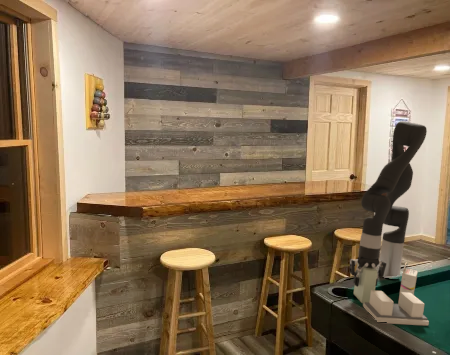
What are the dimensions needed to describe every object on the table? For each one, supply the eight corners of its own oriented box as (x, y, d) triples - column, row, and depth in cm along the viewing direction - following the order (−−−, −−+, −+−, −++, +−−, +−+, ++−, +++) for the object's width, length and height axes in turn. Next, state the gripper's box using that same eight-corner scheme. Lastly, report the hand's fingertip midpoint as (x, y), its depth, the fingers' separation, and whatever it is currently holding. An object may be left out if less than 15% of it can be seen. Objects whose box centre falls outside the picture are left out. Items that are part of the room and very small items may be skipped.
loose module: (353, 293, 149) (357, 262, 148) (364, 294, 150) (368, 263, 148) (361, 302, 141) (365, 270, 140) (373, 303, 142) (377, 271, 140)
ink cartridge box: (412, 305, 143) (417, 269, 141) (398, 301, 145) (403, 265, 143) (413, 298, 150) (419, 263, 148) (400, 294, 152) (405, 260, 151)
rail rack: (362, 306, 138) (365, 288, 138) (409, 309, 139) (412, 291, 139) (377, 322, 127) (380, 303, 126) (428, 325, 127) (431, 306, 127)
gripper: (383, 243, 147) (378, 283, 149) (348, 240, 146) (343, 281, 148) (393, 249, 140) (387, 291, 142) (355, 246, 139) (350, 289, 141)
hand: (364, 286), depth 145 cm, fingers open, 6 cm apart
